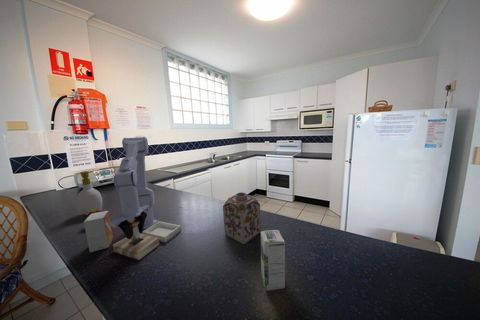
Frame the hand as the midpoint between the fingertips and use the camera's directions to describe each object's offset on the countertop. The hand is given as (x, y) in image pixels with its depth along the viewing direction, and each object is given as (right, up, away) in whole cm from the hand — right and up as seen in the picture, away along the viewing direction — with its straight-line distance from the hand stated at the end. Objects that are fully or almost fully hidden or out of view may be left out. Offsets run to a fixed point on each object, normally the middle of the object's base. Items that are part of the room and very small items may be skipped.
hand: (135, 234), depth 67 cm
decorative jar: (+43, -3, +7) cm, 43 cm away
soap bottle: (-48, -3, +36) cm, 60 cm away
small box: (-16, -6, +5) cm, 18 cm away
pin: (0, -4, +1) cm, 4 cm away
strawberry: (-33, -5, +22) cm, 40 cm away
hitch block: (0, -6, +1) cm, 6 cm away
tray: (+6, -4, +10) cm, 13 cm away
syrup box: (+51, -6, -18) cm, 54 cm away
